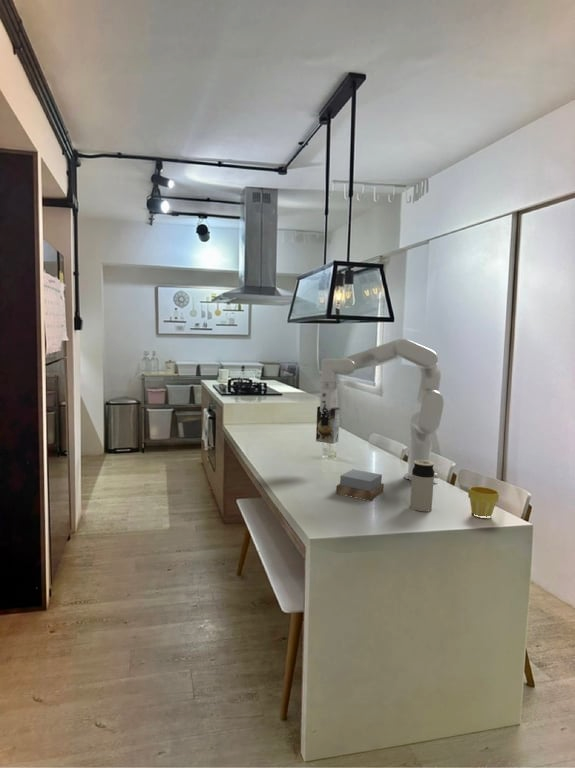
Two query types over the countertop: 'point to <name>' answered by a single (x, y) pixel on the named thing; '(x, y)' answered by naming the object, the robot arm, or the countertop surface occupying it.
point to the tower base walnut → (360, 492)
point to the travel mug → (422, 485)
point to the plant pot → (482, 500)
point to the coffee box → (332, 430)
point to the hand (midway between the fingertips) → (327, 424)
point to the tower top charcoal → (361, 480)
